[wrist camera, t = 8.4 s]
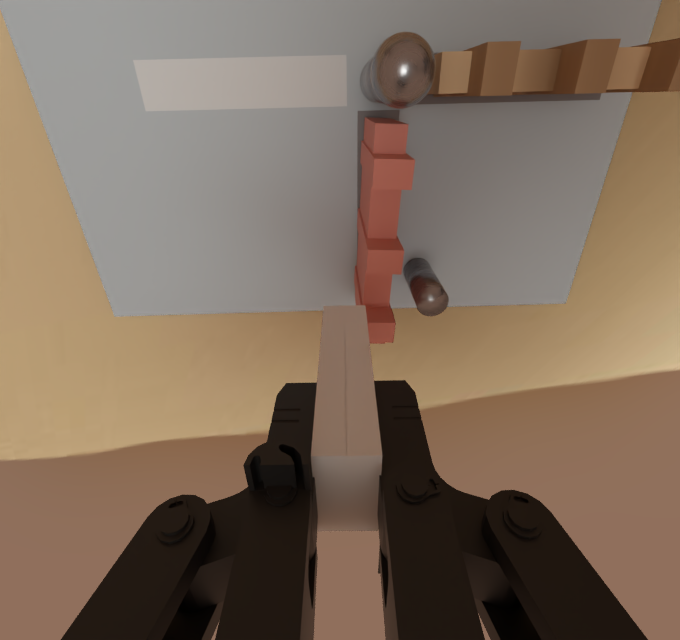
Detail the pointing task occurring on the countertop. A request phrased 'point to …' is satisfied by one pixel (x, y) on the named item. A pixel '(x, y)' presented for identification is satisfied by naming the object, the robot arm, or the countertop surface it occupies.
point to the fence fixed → (558, 69)
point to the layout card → (312, 147)
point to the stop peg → (425, 287)
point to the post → (399, 71)
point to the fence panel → (381, 221)
